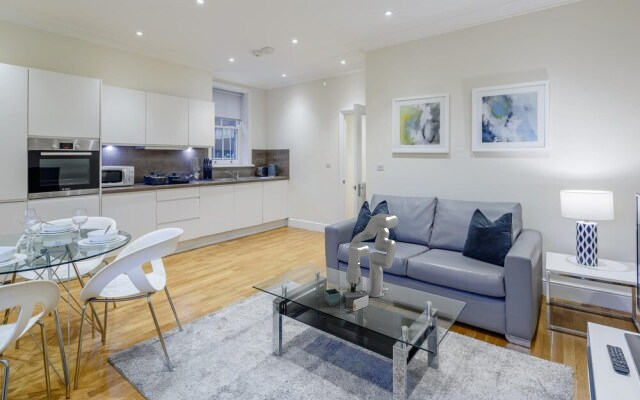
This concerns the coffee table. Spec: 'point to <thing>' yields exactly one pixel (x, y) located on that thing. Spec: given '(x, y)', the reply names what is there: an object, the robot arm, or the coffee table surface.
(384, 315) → the coffee table surface
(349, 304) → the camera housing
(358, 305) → the side door
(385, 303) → the coffee table surface
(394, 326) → the coffee table surface
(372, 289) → the robot arm
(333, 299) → the flower pot
